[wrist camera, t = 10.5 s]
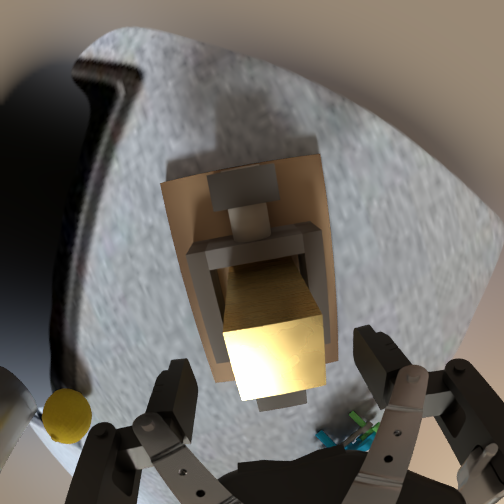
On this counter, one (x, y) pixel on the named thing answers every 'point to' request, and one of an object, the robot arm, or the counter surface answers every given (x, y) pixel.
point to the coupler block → (273, 329)
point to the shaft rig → (252, 244)
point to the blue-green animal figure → (354, 435)
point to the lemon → (66, 416)
